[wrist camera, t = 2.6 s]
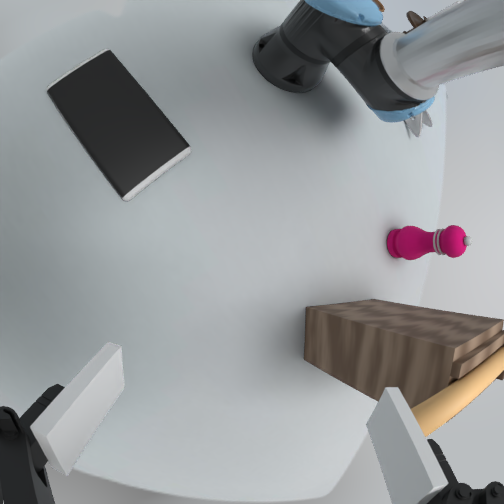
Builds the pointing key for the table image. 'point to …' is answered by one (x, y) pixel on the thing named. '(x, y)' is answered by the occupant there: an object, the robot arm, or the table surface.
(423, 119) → the sculpture
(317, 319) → the stand
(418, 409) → the pin
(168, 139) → the smartphone
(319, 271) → the table surface
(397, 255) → the pepper mill
